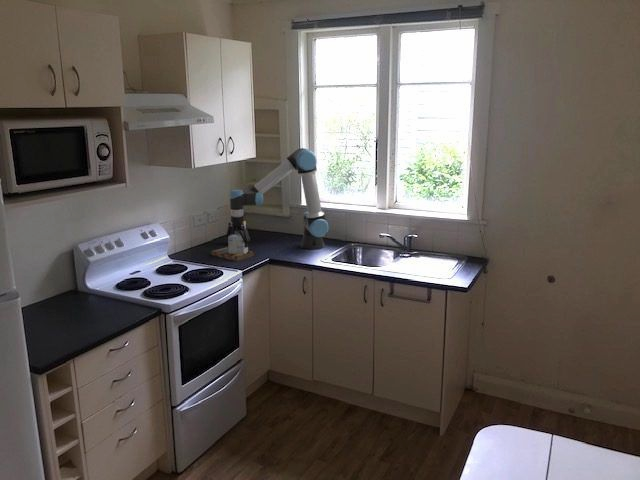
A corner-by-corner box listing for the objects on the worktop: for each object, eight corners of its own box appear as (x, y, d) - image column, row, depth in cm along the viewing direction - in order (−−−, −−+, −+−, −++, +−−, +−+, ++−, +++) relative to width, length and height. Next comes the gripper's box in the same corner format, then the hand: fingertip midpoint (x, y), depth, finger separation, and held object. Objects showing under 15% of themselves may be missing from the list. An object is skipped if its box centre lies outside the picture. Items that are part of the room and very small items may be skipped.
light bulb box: (248, 251, 340) (247, 234, 337) (245, 254, 334) (245, 237, 331) (231, 251, 341) (230, 234, 338) (228, 254, 335) (227, 236, 332)
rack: (255, 256, 340) (255, 252, 339) (235, 261, 329) (235, 257, 328) (230, 249, 355) (230, 245, 354) (211, 254, 343) (211, 250, 343)
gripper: (219, 214, 337) (220, 248, 342) (246, 219, 321) (247, 255, 327) (228, 212, 342) (230, 246, 347) (255, 217, 327) (256, 252, 332)
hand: (238, 250), depth 337 cm, fingers closed on light bulb box, 12 cm apart
